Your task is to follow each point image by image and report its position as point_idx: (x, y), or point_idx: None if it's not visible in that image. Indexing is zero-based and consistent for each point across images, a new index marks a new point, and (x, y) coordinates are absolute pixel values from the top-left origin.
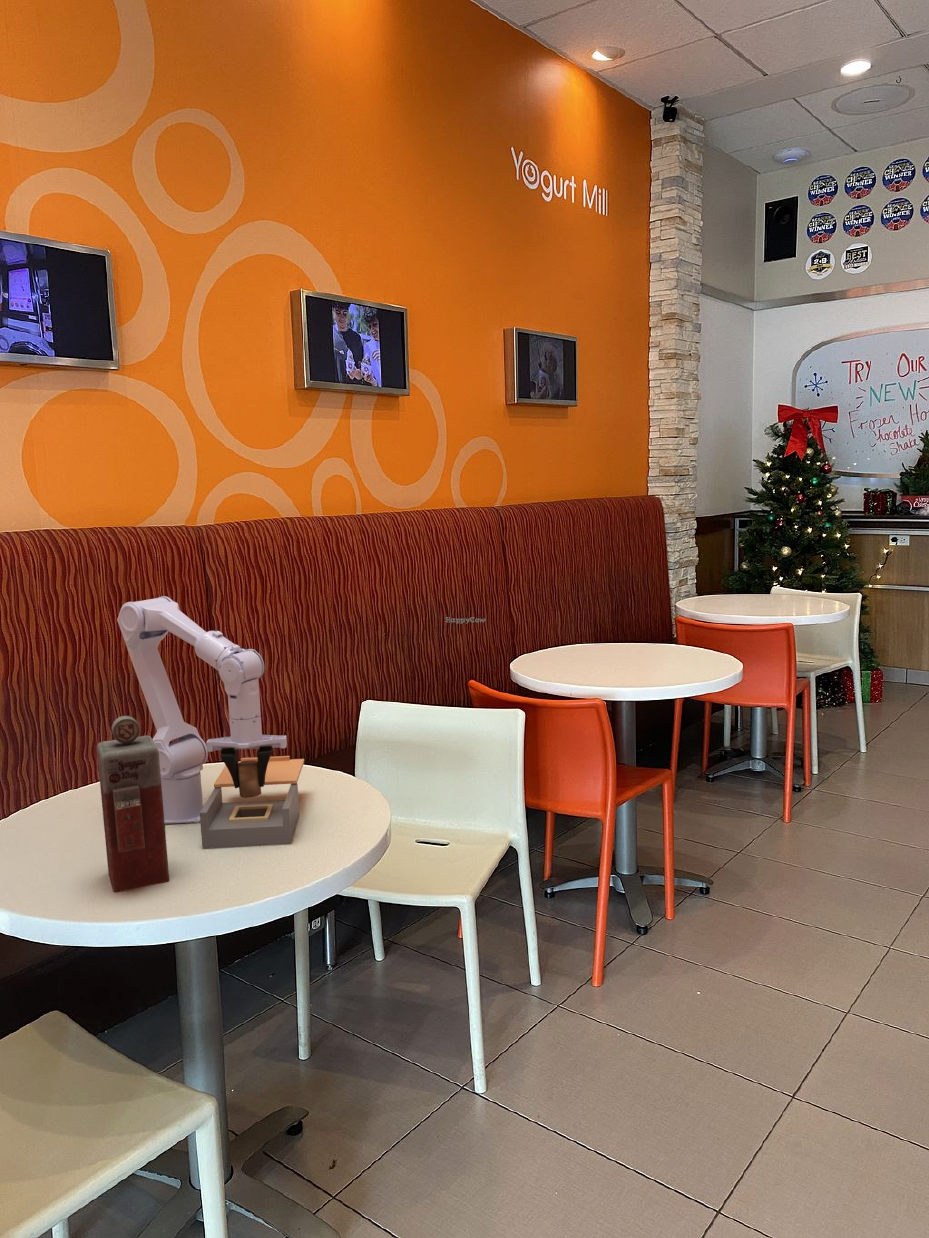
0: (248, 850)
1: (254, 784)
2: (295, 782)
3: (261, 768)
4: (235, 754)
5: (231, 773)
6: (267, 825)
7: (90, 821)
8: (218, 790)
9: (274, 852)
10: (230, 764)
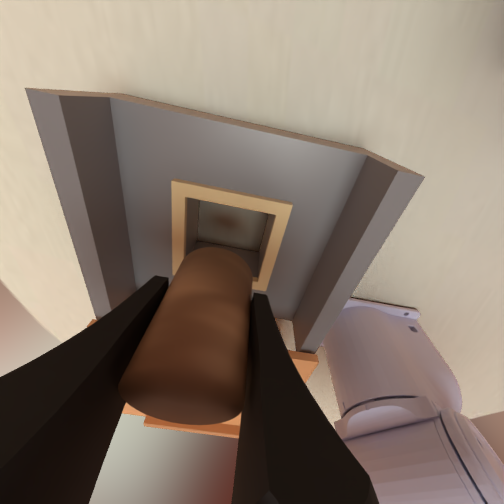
0: (243, 83)
1: (181, 281)
2: (94, 322)
3: (97, 340)
4: (247, 496)
5: (281, 349)
6: (169, 127)
7: (501, 349)
8: (307, 340)
9: (161, 28)
10: (289, 406)
